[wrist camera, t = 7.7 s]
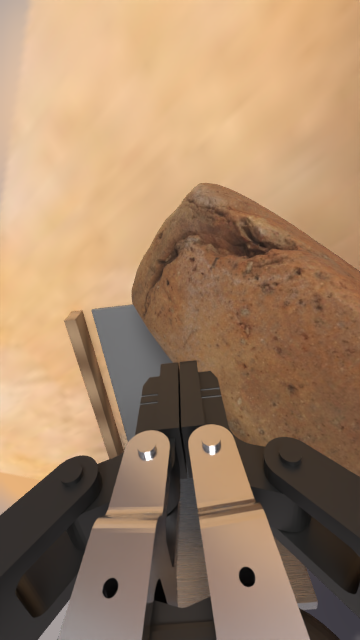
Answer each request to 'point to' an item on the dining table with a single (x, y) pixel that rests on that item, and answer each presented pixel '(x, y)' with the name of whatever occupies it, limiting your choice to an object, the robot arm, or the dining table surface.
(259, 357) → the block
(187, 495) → the bookend
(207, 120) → the dining table surface
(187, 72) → the dining table surface
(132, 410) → the mat
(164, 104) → the dining table surface
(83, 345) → the front rail
